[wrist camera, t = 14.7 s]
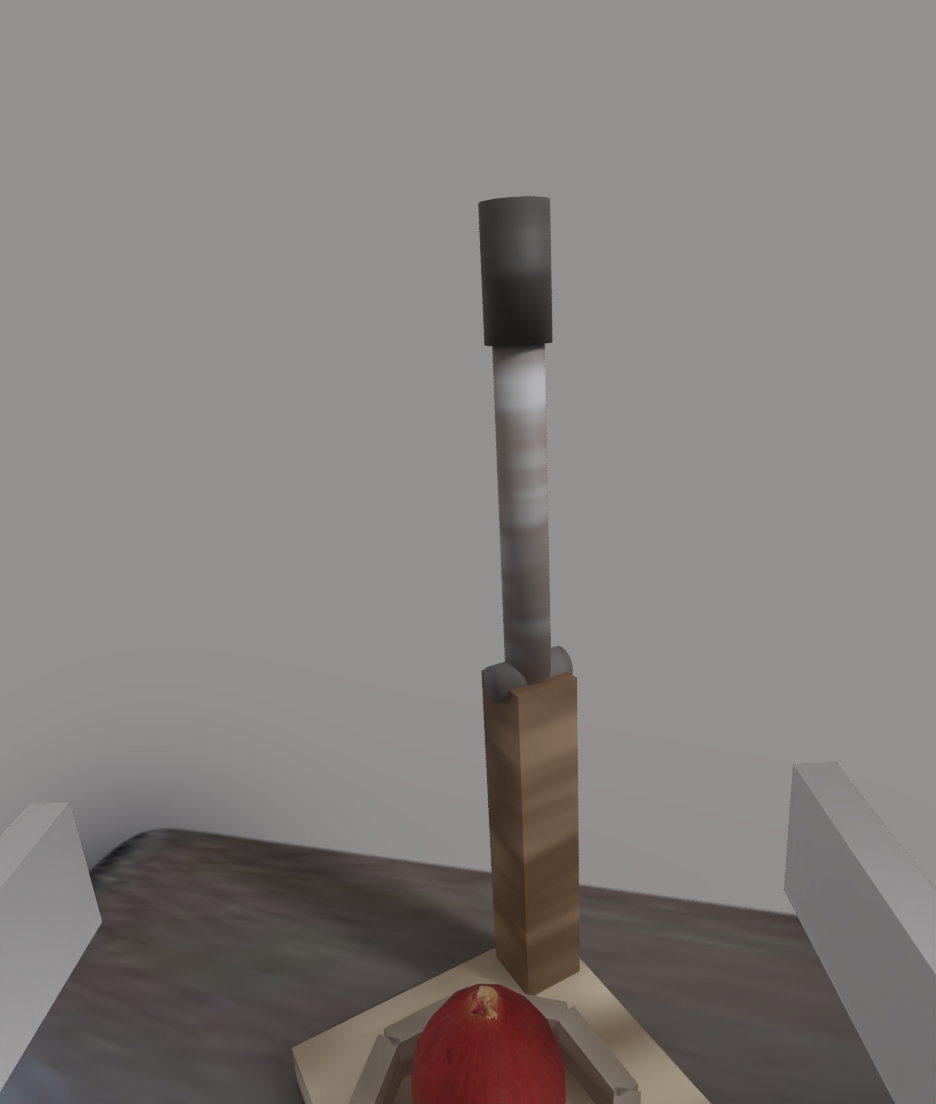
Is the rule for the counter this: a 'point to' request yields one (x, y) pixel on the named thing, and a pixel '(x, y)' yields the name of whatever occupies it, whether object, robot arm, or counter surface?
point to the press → (516, 760)
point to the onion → (488, 1052)
